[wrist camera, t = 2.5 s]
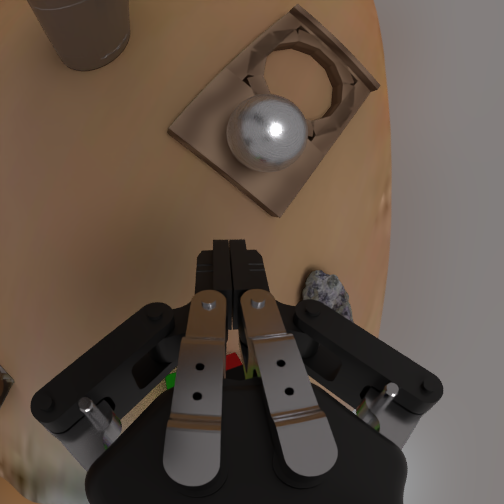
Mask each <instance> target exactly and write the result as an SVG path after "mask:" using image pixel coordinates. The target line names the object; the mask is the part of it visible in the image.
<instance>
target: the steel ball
mask: <svg viewBox="0 0 504 504" xmlns="http://www.w3.org/2000/svg"><path fill="white" fill-rule="evenodd" d="M226 133H227V141H228V145H229V147H230V150H231V152H232V153H233V155H234V156H235V157H236V158H237V160H238V161H240V162H241V163H242V164H243V165H245V166H246V167H248V168H250V169H253V170H255V171H259V172H276V171H279V170H283V169H285V168H287V167H289V166H290V165H292V164H293V163H294V162H296V161H297V160H298V159H299V157H300V156H301V155H302V153H303V151H304V149H305V147H306V144H307V139H308V127H307V123H306V120H305V117H304V115H303V114H302V112H301V111H300V109H299V108H298V107H297V106H296V105H295V104H294V103H293V102H291V101H290V100H288V99H286V98H284V97H282V96H279V95H274V94H260V95H255V96H252V97H250V98H248V99H246V100H244V101H243V102H241V103H240V104H239V105H238V106H237V107H236V108H235V110H234V111H233V112H232V114H231V116H230V118H229V121H228V125H227V132H226Z"/></svg>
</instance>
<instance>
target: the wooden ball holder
mask: <svg viewBox="0 0 504 504" xmlns="http://www.w3.org/2000/svg"><path fill="white" fill-rule="evenodd" d="M290 48H292V49H295V50H297V51H300V52H303V53H306V54H309V55H311V56H312V57H313V58H314V59H315V60H316V61H317V62H318V63H319V64H320V65H321V66H322V67H323V68H324V69H325V70H326V72H327V75H328V77H329V80H330V82H331V84H332V87H333V92H332V104H331V107H330V108H329V110H328V111H327V112H326V113H325V115H324V116H323V117H322V119H318V120H314V121H311V120H307V119H305V120H306V123H307V127H308V139H307V144H306V147H305V149H304V151H303V153H302V155H301V156H300V157H299V159H298V160H297V161H296V162H294V163H293V164H292V165H290V166H289V167H287V168H285V169H283V170H279V171H276V172H259V171H255V170H253V169H250V168H248V167H246V166H245V165H243V164H242V163H241V162H240V161H238V160H237V158H236V157H235V156H234V155H233V153H232V152H231V150H230V147H229V145H228V141H227V133H226V132H227V125H228V121H229V118H230V116H231V114H232V112H233V111H234V110H235V108H236V107H237V106H238V105H239V104H240V103H241V102H243V101H244V100H246V99H248V98H250V97H252V96H255V95H260V94H271V93H270V91H269V89H268V86H267V84H266V81H265V79H264V77H263V76H264V69H265V63H266V57H267V56H268V55H269V54H270V53H271V52H272V51H277V50H283V49H290ZM379 87H380V84H379V83H378V82H377V81H376V80H375V79H374V77H373V76H372V75H371V74H370V73H369V72H368V71H367V69H366V68H365V67H364V66H363V65H362V64H361V63H360V62H359V61H358V60H357V59H356V58H355V57H354V55H353V54H352V53H351V52H350V51H349V50H348V49H347V48H346V47H345V46H344V45H343V44H342V43H341V42H340V41H339V40H338V39H337V38H336V37H335V36H334V35H333V34H331V33H330V32H329V31H328V30H327V29H326V28H325V27H324V26H323V25H322V24H321V23H320V22H318V21H317V20H316V19H315V18H314V17H313V16H312V15H310V14H309V13H308V12H307V11H306V10H305V9H303V8H302V7H301V6H300V5H299V4H297V5H296V6H294V7H293V8H292V9H291V10H290V11H289V12H288V13H287V14H286V15H284V16H283V17H282V18H281V19H279V20H278V21H277V22H276V23H274V24H273V25H272V26H271V27H270V28H268V29H267V30H266V31H265V32H264V33H262V34H261V35H260V36H259V37H258V38H257V39H255V40H254V41H253V42H252V43H251V44H250V45H249V46H248V47H246V48H245V49H244V50H243V51H242V52H241V53H240V54H239V55H238V56H237V57H236V58H235V59H233V60H232V61H231V62H230V63H229V64H228V65H227V66H226V67H225V68H224V69H223V70H222V71H221V72H220V73H219V74H218V75H217V76H216V77H215V78H214V79H213V80H212V81H211V82H210V83H209V84H208V85H207V86H206V87H205V88H204V89H203V90H202V91H201V92H200V93H199V94H198V96H197V97H196V98H195V99H194V100H193V101H192V102H191V103H190V104H189V105H188V106H187V107H186V109H185V110H184V111H183V112H182V113H181V114H180V115H179V116H178V118H177V119H176V120H175V121H174V122H173V123H172V125H171V126H170V127H169V128H168V132H167V133H168V134H170V135H171V136H172V137H173V138H175V139H176V140H177V141H179V142H180V143H181V144H183V145H184V146H185V147H187V148H188V149H189V150H190V151H192V152H193V153H194V154H196V155H197V156H198V157H199V158H201V159H202V160H203V161H204V162H206V163H207V164H208V165H210V166H211V167H212V168H213V169H215V170H216V171H217V172H218V173H220V174H221V175H222V176H223V177H225V178H226V179H227V180H228V181H230V182H231V183H232V184H233V185H235V186H236V187H237V188H238V189H239V190H241V191H242V192H243V193H244V194H246V195H247V196H248V197H249V198H251V199H252V200H253V201H254V202H255V203H257V204H258V205H259V206H260V207H261V208H263V209H264V210H265V211H266V212H268V213H269V214H270V215H271V216H274V217H279V218H280V217H281V216H282V215H283V213H284V212H285V210H286V209H287V208H288V206H289V205H290V204H291V202H292V201H293V199H294V198H295V197H296V195H297V194H298V192H299V191H300V190H301V188H302V187H303V186H304V184H305V183H306V181H307V180H308V179H309V177H310V176H311V174H312V173H313V172H314V170H315V169H316V167H317V166H318V165H319V163H320V162H321V161H322V159H323V158H324V156H325V155H326V154H327V152H328V151H329V149H330V148H331V147H332V145H333V144H334V143H335V141H336V140H337V138H338V137H339V136H340V134H341V133H342V131H343V130H344V129H345V127H346V126H347V124H348V123H349V122H350V120H351V119H352V118H353V116H354V115H355V113H356V112H357V111H358V109H359V108H360V106H361V105H362V104H363V102H364V101H365V99H366V98H367V97H368V95H369V94H370V92H372V91H375V90H378V88H379Z"/></svg>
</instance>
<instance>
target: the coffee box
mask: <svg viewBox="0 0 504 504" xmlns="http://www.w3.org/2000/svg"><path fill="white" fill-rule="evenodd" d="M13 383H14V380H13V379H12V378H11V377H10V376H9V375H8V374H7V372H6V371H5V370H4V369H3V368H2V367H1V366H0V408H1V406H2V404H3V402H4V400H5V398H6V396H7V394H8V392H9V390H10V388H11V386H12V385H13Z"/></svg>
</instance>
